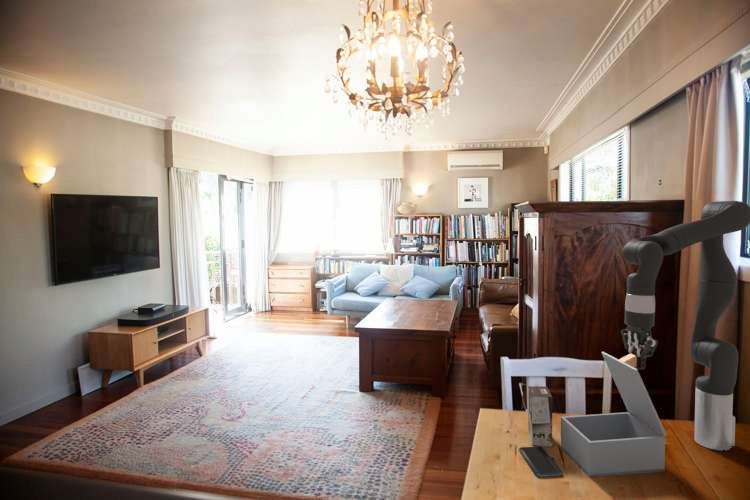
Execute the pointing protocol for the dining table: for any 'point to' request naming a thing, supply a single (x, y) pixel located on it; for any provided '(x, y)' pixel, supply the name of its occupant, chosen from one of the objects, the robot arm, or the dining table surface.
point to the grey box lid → (633, 390)
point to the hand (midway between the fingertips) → (637, 367)
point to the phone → (540, 462)
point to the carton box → (612, 444)
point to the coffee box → (540, 415)
